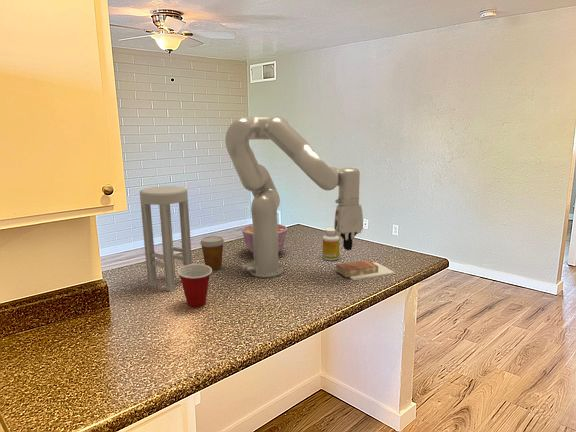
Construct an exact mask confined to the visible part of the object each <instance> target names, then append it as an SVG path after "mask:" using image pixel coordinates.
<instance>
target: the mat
mask: <svg viewBox="0 0 576 432" xmlns="http://www.w3.org/2000/svg"><path fill="white" fill-rule="evenodd" d="M372 263H374V264H375V265H377V266H378V272H377V273H371V274H364V275H358V276H352V277H348V278H349V279H350V280H352V281H358V280H359V281H360V280H364V279H371V278H377V277H378V278H379V277H383V276H389V275H395V273H396V272H395V271H393V270H391V269H390V268H388V267H386V266H384V265H382V264H380V263H378V262H377V261H374V262H372Z"/></svg>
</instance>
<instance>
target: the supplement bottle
mask: <svg viewBox="0 0 576 432" xmlns="http://www.w3.org/2000/svg"><path fill="white" fill-rule="evenodd" d="M321 252H322V253H321V254H322V259H324V260H326V261H337V260H338V259H339V258H340V236H337V235H335V228H334V227H326V228H324V234H323V236H322V251H321Z"/></svg>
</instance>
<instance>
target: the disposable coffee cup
mask: <svg viewBox="0 0 576 432" xmlns="http://www.w3.org/2000/svg"><path fill="white" fill-rule="evenodd" d="M199 244H200V247H201V249H202V256H203V260H204V265H207V266H209V267H211V268H212V271H215V270H219V269H220V270H221V268H222V265H223V263H222V262H223V252H224V244H225V240H224V237H222V236H219V235H211V236H205V237H202V238H201V240H200V242H199Z"/></svg>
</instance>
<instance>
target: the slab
mask: <svg viewBox="0 0 576 432" xmlns="http://www.w3.org/2000/svg"><path fill="white" fill-rule="evenodd" d="M335 271H336V272H337V273H339V274H340V275H342V276H344V277H345V278H349V277H352V276H358V275H364V274H371V273H377V272H378V266H377V265H375V264H374V263H373V262H372V261H370V260H368V259H366V260H365V259H364V260H358V261H353V262H352V261H351V262H345V263H344V262H343V263H338V264H337V263H336V265H335Z"/></svg>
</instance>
